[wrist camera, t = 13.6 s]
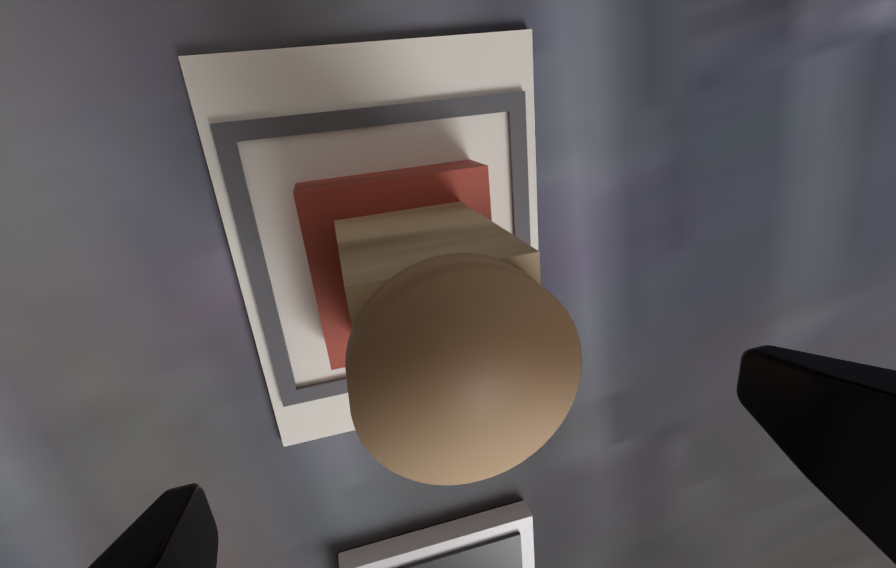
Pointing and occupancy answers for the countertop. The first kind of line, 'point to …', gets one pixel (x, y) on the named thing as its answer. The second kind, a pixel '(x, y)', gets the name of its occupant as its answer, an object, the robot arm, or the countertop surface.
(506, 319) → the stamp
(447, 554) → the ink pad
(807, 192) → the countertop surface
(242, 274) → the print sheet
